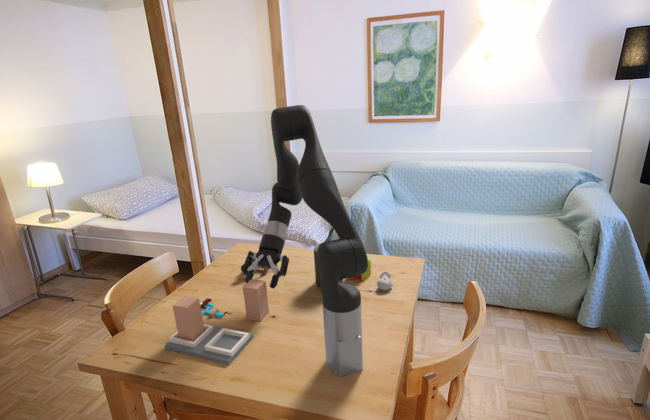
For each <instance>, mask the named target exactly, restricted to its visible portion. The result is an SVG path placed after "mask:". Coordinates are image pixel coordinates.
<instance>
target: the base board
mask: <svg viewBox="0 0 650 420" xmlns="http://www.w3.org/2000/svg"><path fill="white" fill-rule="evenodd" d="M171 305H172V310H173V316H174V320H175V324H176V325H175V326H176V330H177V331H175V333H173V334H172V335H171V336H169V337H168V342H167V343H166V344H165V345H164V350H168V351H172V352H176V353H180V354H184V355H187V356H193V357H195V358H200V359H205V360H208V361H212V362H216V363H221V364H223V365H224V364H225V365H228V366H230V365H232V363H233V362H234V361H235V359H236V358H237V357H238V356H239V355H240V354H241V352H242V351H243V350H244V349H245V348H246V347H247V346H248V345H249V343H250V342H251V341H252V340H253V339H254V338H255V336H254V333H252V332H247V331H242V330H239V329H233V328H227V327H223V326H219V325H213V324H209V323H204V320H203V316H202V313H201V307H200V298H199V297H194V296H187V295H184V296H182V297H181V298H180V299H178V300H176V302H174V303H173V304H171Z"/></svg>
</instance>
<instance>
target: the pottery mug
mask: <svg viewBox="0 0 650 420" xmlns="http://www.w3.org/2000/svg"><path fill="white" fill-rule="evenodd" d="M256 259H257V258H256V257H255V259H254V260H253V262H254V261H255V260H256ZM253 262H252V263H253ZM257 265H258V264H257ZM243 266H244V263H243V264H242V265H241V267H240V271H241V273H242V274H243V276H246V275H247V270H246V269H244V268H243ZM260 269H263V273H262V274H263V275H265V274H266V275H267V273H268V271H269V270H270V269H269V268H262V267H261V268H260Z"/></svg>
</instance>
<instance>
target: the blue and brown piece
mask: <svg viewBox="0 0 650 420" xmlns="http://www.w3.org/2000/svg"><path fill="white" fill-rule="evenodd" d="M199 301H200V300H199ZM210 302H212V298H209V297H207V298H205V300H203V301H200V307H201V313H202V317H203V316H204V315H209V317H210V318H214V317H215V318H216V317H217V318H221V319H222V318H224V317H225V313H220V310H219V308H214V307H215V305H214V304H212V303H210ZM213 308H214V309H213Z"/></svg>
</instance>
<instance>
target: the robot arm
mask: <svg viewBox="0 0 650 420" xmlns="http://www.w3.org/2000/svg"><path fill="white" fill-rule="evenodd" d="M270 116H271V117H270V125H271V127H270V128H271V133H272V134H271V135H272V141H273V148H274V155H275V158H276V160H275V161H276V181H277V182H275V183H274V184H273V186H272V188H271V207H270V208H271V209H270V213H269V216H268V219H267V222H266V225H265V227H264V230H263V233H262V236H261V239H260V243H259V246H258V251H257V252H253V251H252V250H249V251H248V253H247V256H246V258H245V261H244V263H243V264H244V266H243V268H244V269H246V270H247V275H245V279H244V281H245V284H246V283H247V282H249V281H250V280H251V279H254V274H255V272H256V271H257V270H260V269H262V268H269V270H272V272H273V275H271V276H272V277H271V280H270V282H269V288H271V289H273V290H274V289H275V288H277V286H278V282H279V280H280V277H286V276H287V271H288V267H289V262H290V258H289V257H288V256H287V255H285V254H283V255H282V253H283V249H284V246H285V243H286V240H287V236H288V231H289V227H290V223H291V219H292V212H291V210H290V209H288V208H286V206H283V205H281V203H282V204H286V205H289V206H298V205H299V204H300V203H301V202H302V201H304V203H305V204H306V206H308V208H309V209H311V210H312V211H313V212H314V213H316V215H318V216H319V217H321V218H322V219H323V220H324V221H326V222H327V223H328V224H329V225H330V226H331V227H332V229H334V231H335V233H336V235H337V237H338V239H333V240H328V241H323V242H320V243H319V244H320V245H319V247H318V250H317V260H318V268H319V276H320V287H321V289H320V293H321V299H322V300H321V302H322V314H323V316H322V317H323V333H324V347H325V348H324V349H325V359H326V360H325V362H326V366H327V368H328V369H329V370H330V371H332V372H334V373H335V374H336V375H338V377H342V376H343V377H344V376H345V375H346V376H348V375H350V374H353V373H357V372H361V371H363V367H364V365H363V360H364V359H363V333H362V332H363V330H362V327H363V326H362V298H361V297H362V295H361V292H360V289H359V288H357V287H356V286H354V285H353V284H350V283H345V282H343V283H340V282H338V281H339V280H342V279H343V280H346V279H349V278H352V277H354V276H358V275H361V274H364V273H365V272H366V271H367V268H368V260H369V259H368V255H367V251H366V249H365V246H364V243H363V241H362V240H361V237H360V235H359V233H358V231H357V229H356V227H355V226H354V223H353V221H352V219H351V217H350V215H349V213H348V211H347V209H346V207H345V203H344V202H343V199H342V196H341V194H340V191H339V188H338V185H337V182H336V179H335V178H334V175H333V173H332V170H331V168H330V166H329V163H328V161H327V159H326V156H325V154H324V152H323V148H322V147H321V143H320V141H319V136H318V132H317V130H316V126H315V123H314V121H313V117H312V114H311V112H310V110H309V108H308V107H307V106H306V105H303V104H298V105H297V104H296V105H289V106H283V107H278V108H274V109H272V112H271V115H270ZM295 140H296V141H297V140H304V143H305V145H304V151H303V154H302V157H301V159H300V162H299V161H298V158H297V157H296V156H295V154H293V152H292V151H291V150H290V149H289V148H288V147H287V145H286V144H285V142H290V141H295ZM281 255H282V256H281ZM255 257H256V258H255ZM254 259H256V260H255V261H254V262H253V260H254ZM252 262H253V263H252ZM278 263H281V264H280V269H279V267H278ZM257 264H258V265H257ZM261 267H262V268H261Z"/></svg>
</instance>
